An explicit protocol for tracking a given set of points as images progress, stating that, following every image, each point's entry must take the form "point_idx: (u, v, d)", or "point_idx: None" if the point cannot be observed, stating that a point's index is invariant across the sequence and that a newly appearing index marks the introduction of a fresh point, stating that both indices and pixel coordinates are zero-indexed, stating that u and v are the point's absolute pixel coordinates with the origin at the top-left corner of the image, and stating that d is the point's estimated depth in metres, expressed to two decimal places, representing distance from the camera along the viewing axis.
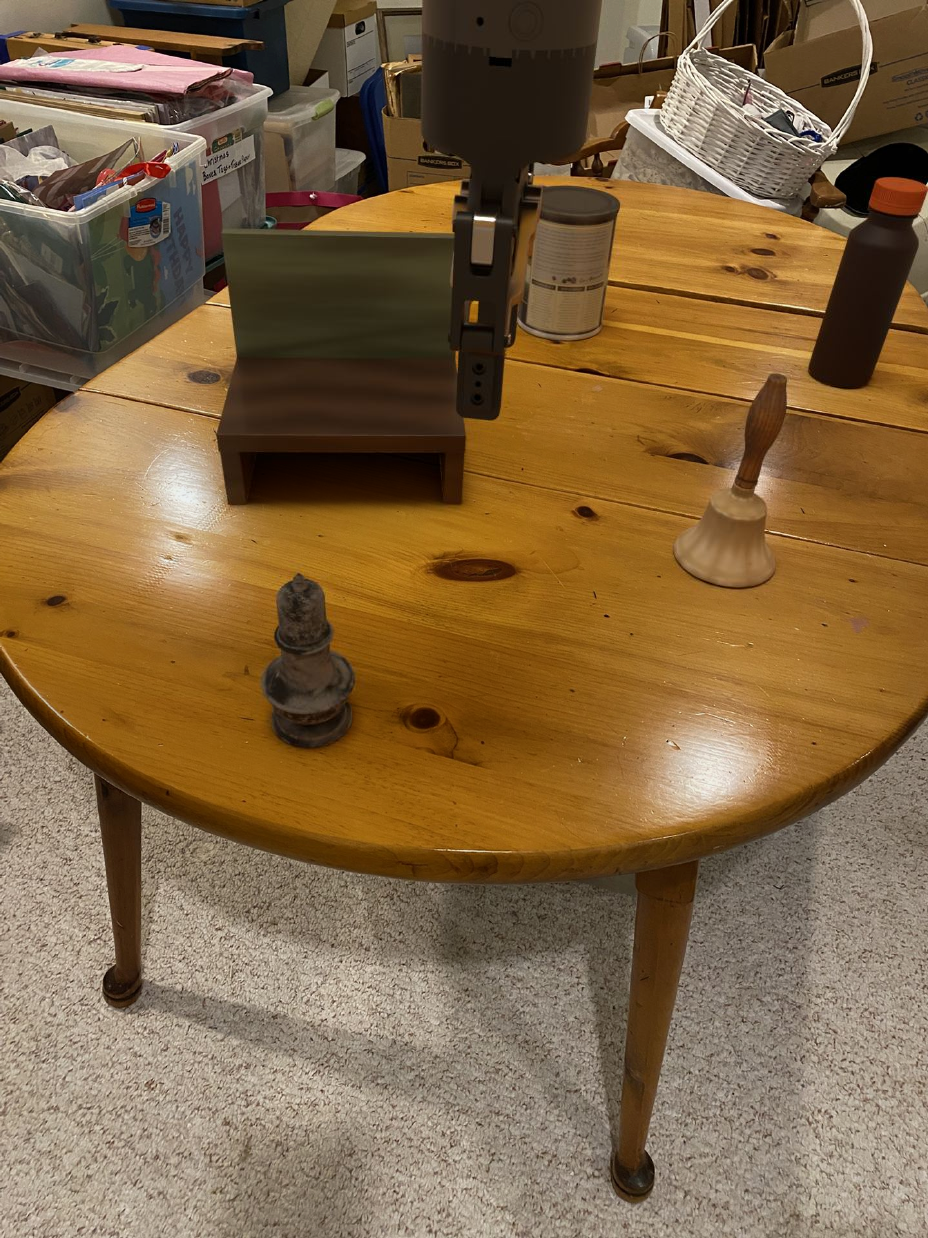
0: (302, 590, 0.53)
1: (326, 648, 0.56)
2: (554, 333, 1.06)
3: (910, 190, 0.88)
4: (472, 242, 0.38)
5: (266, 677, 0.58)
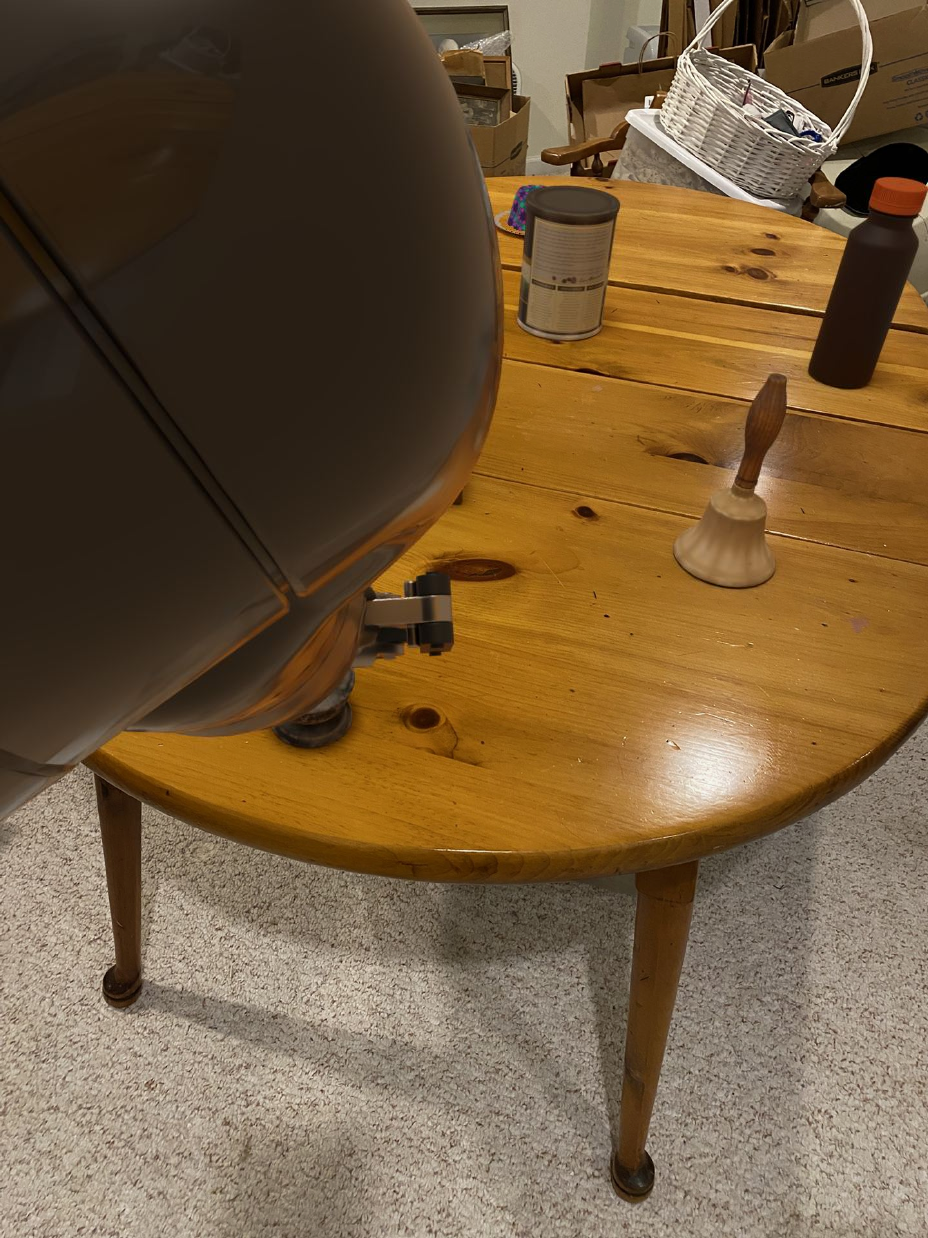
0: None
1: None
2: (554, 333, 1.06)
3: (910, 190, 0.88)
4: None
5: None
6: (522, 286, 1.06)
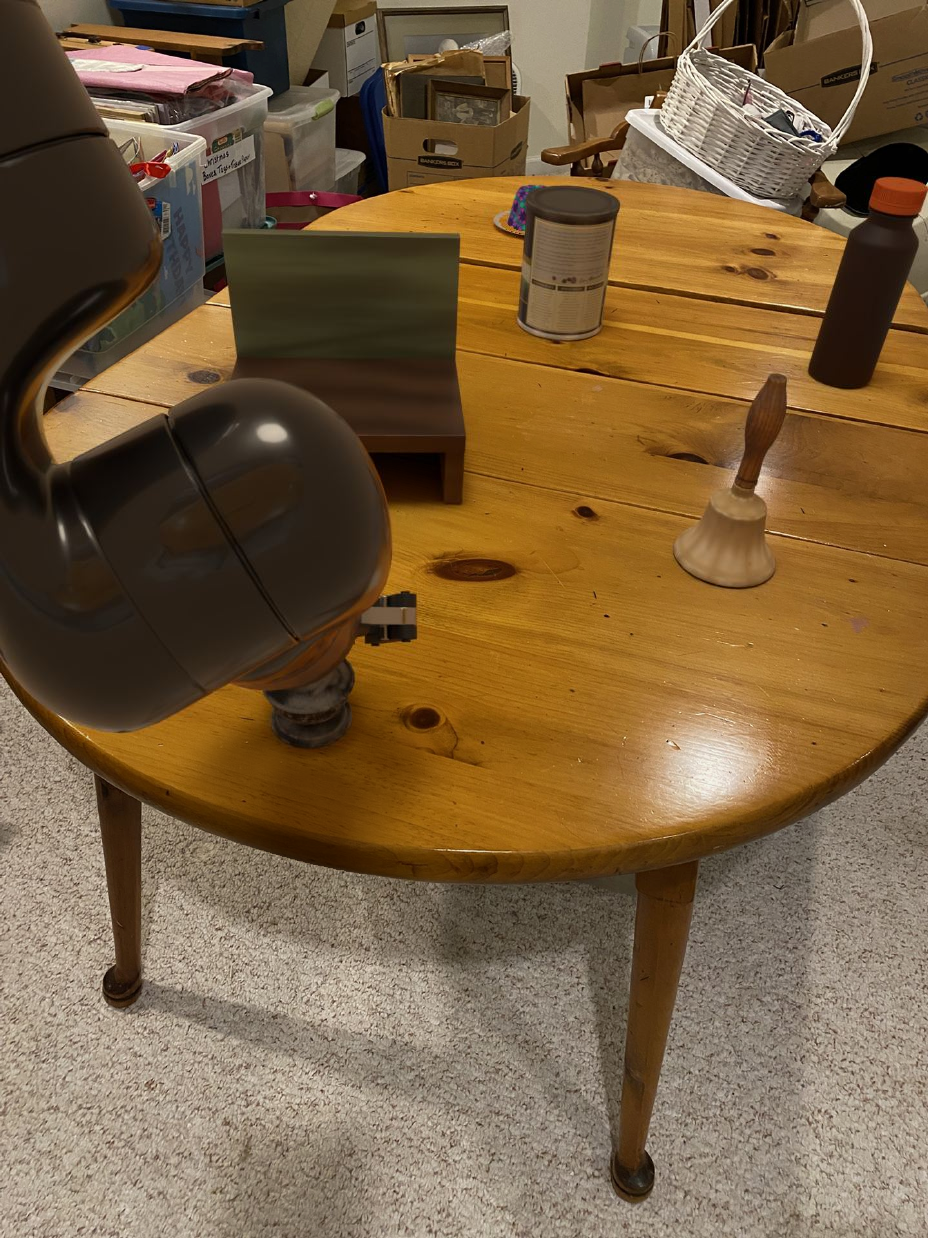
0: None
1: None
2: (554, 333, 1.06)
3: (910, 190, 0.88)
4: None
5: None
6: (522, 286, 1.06)
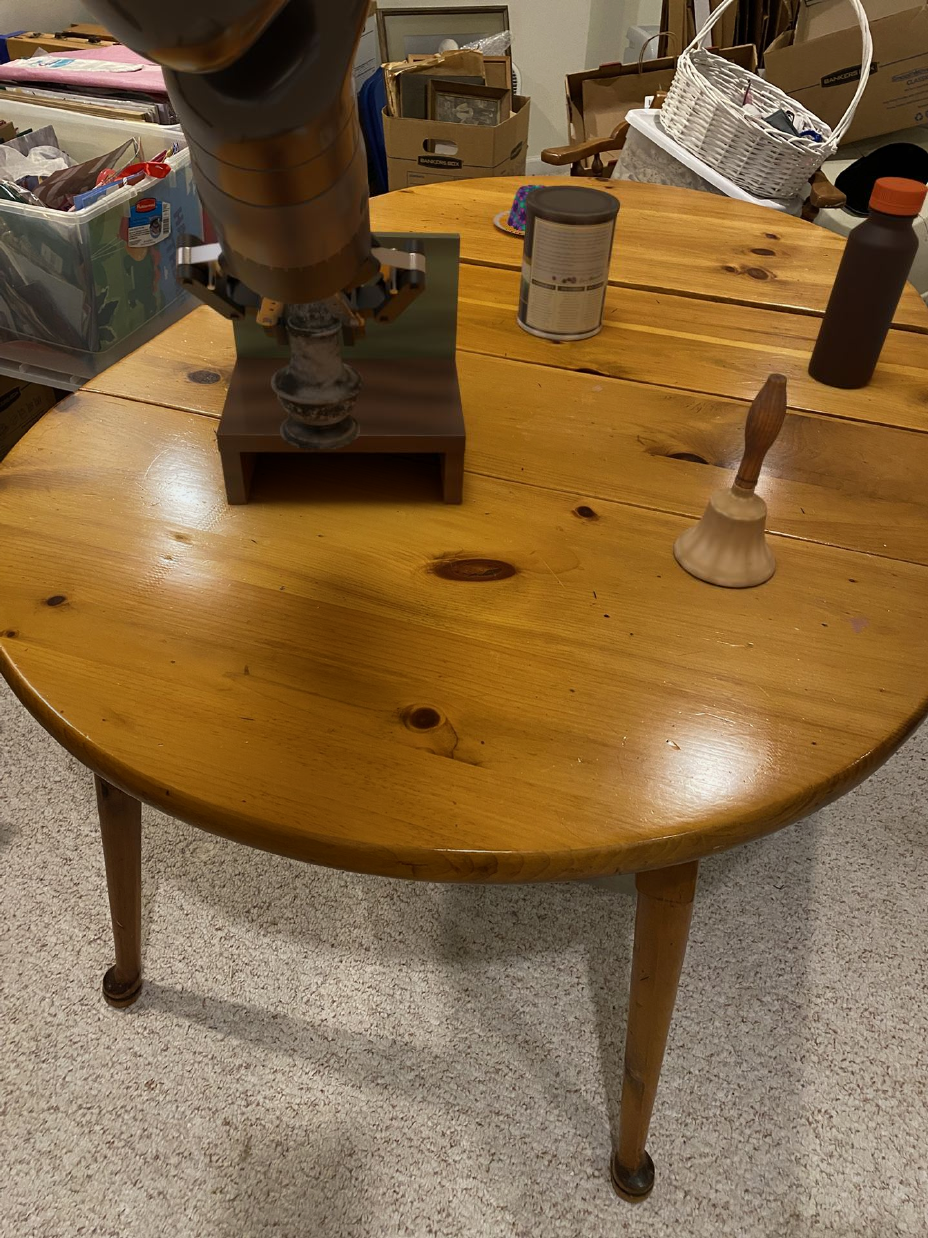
0: None
1: (335, 337, 0.57)
2: (554, 333, 1.06)
3: (910, 190, 0.88)
4: None
5: (276, 377, 0.59)
6: (522, 286, 1.06)
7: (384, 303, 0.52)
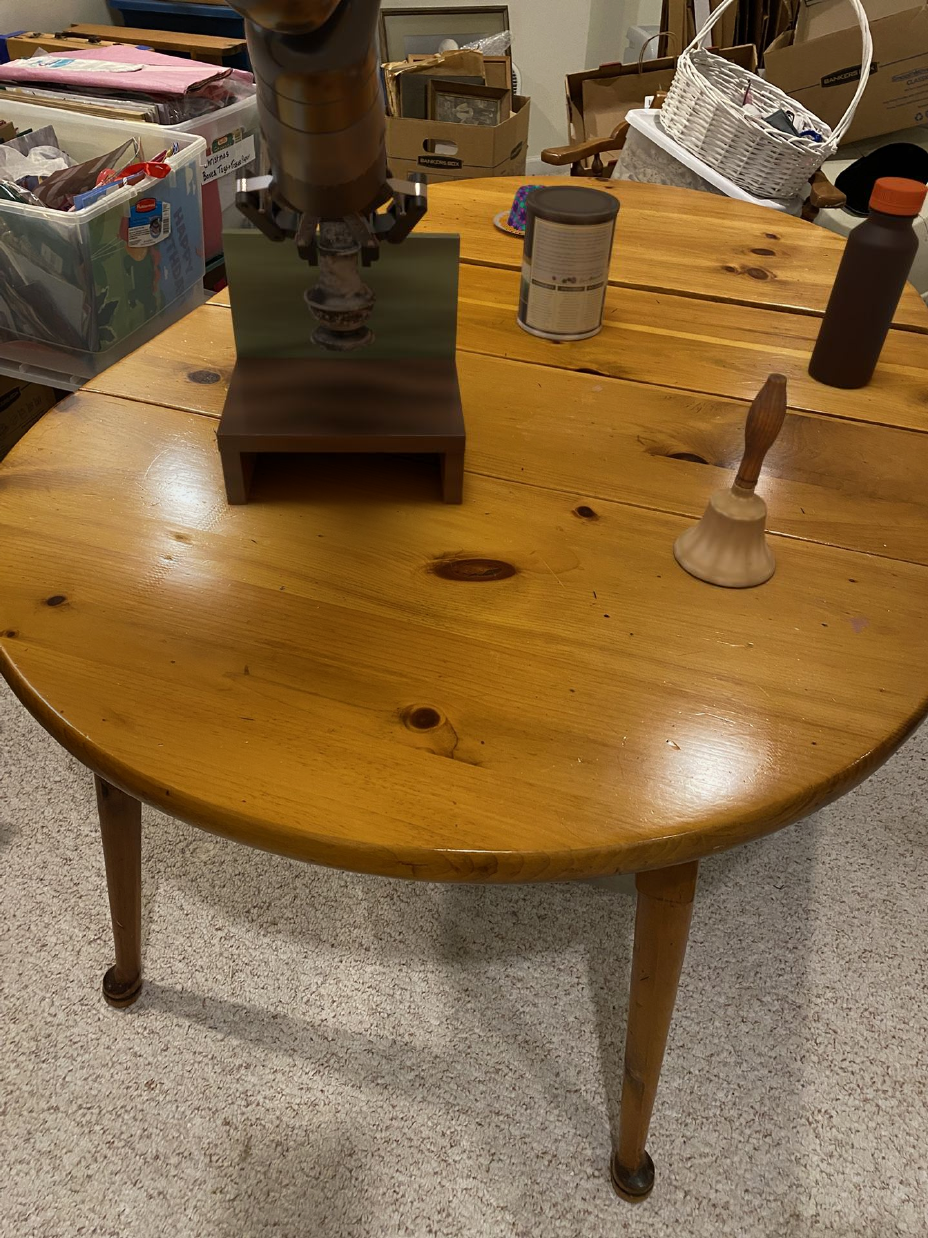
0: None
1: (355, 257, 0.71)
2: (554, 333, 1.06)
3: (910, 190, 0.88)
4: None
5: (307, 292, 0.73)
6: (522, 286, 1.06)
7: (395, 225, 0.67)
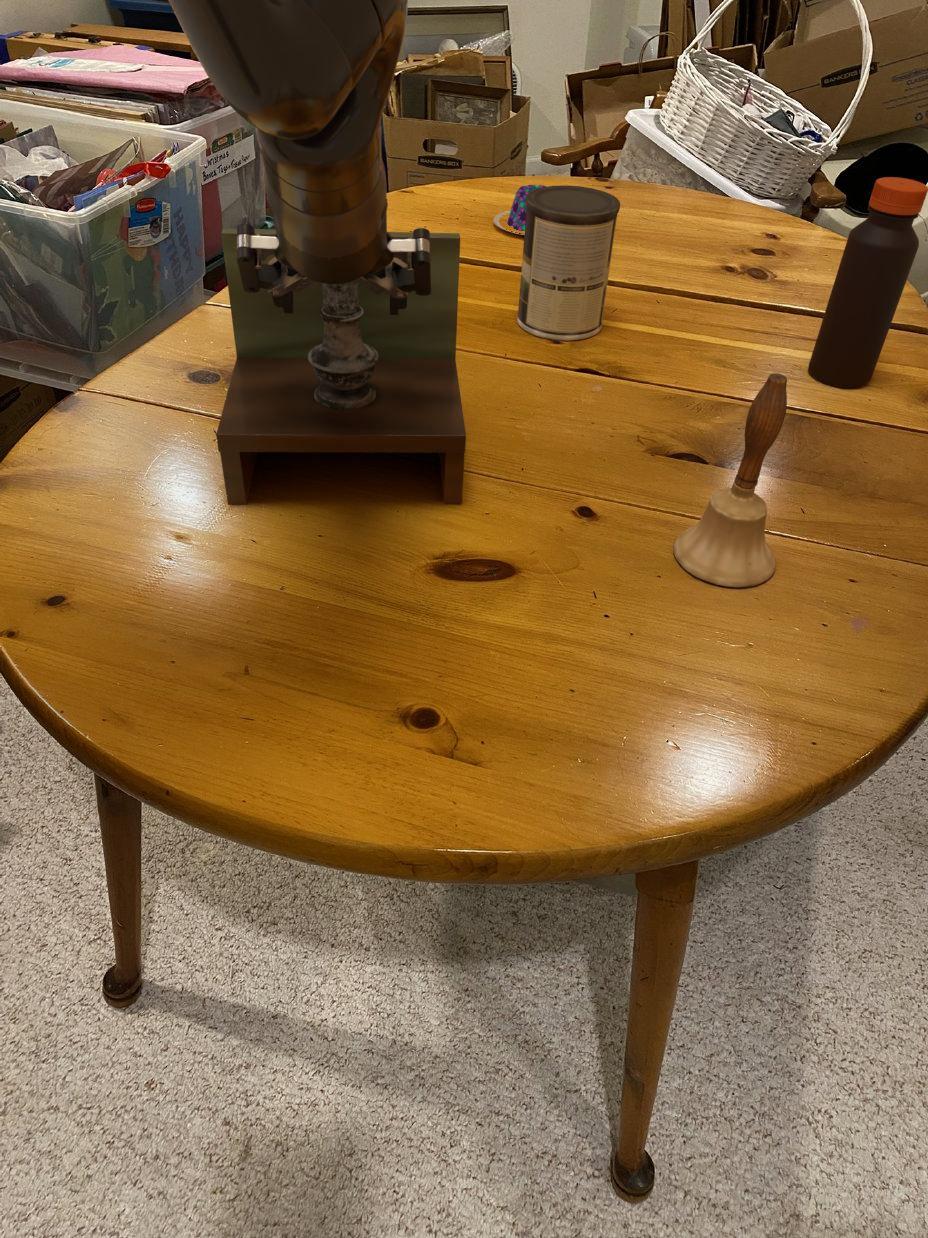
0: None
1: (358, 322, 0.75)
2: (554, 333, 1.06)
3: (910, 190, 0.88)
4: None
5: (312, 353, 0.77)
6: (522, 286, 1.06)
7: (414, 280, 0.69)
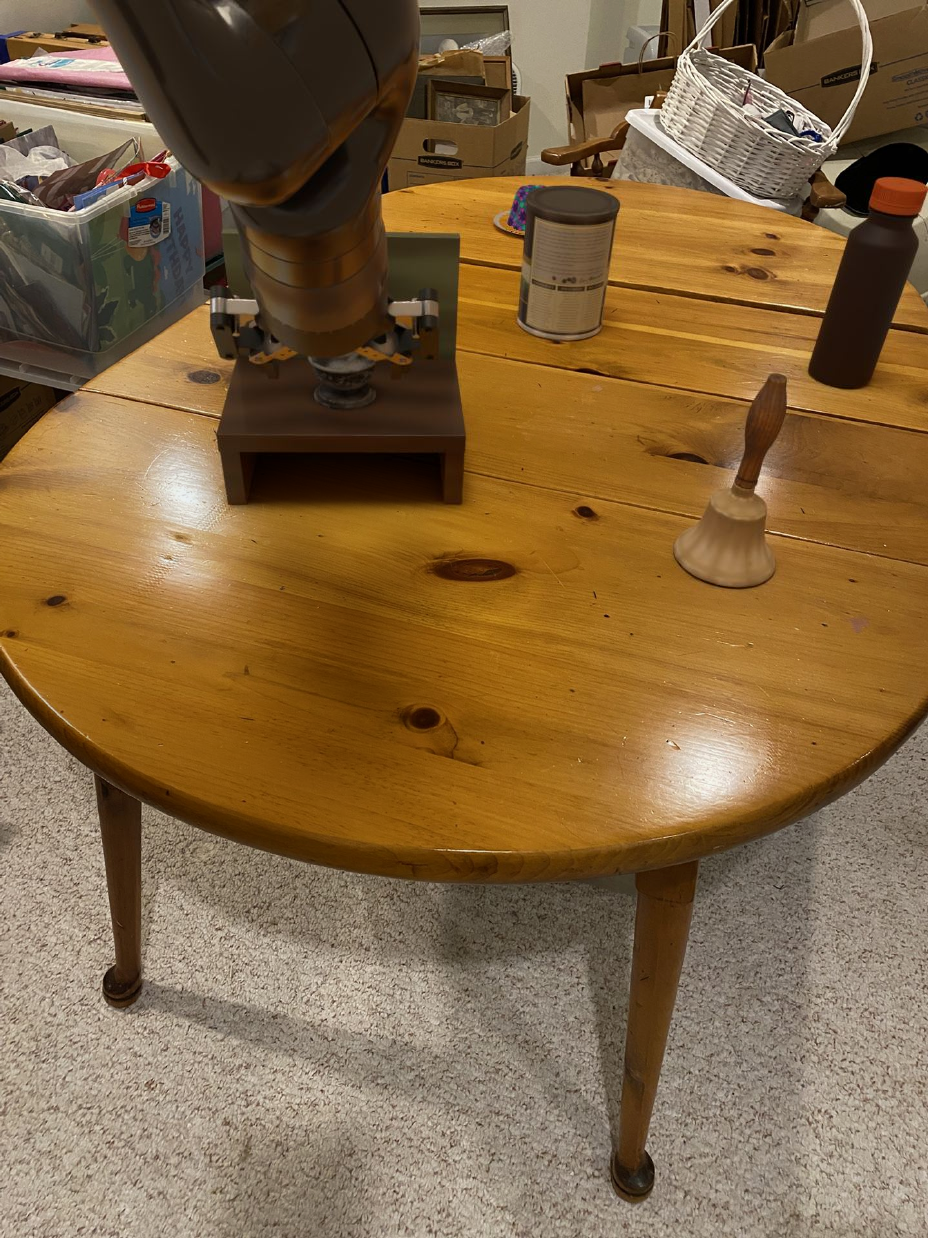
0: None
1: None
2: (554, 333, 1.06)
3: (910, 190, 0.88)
4: None
5: None
6: (522, 286, 1.06)
7: None
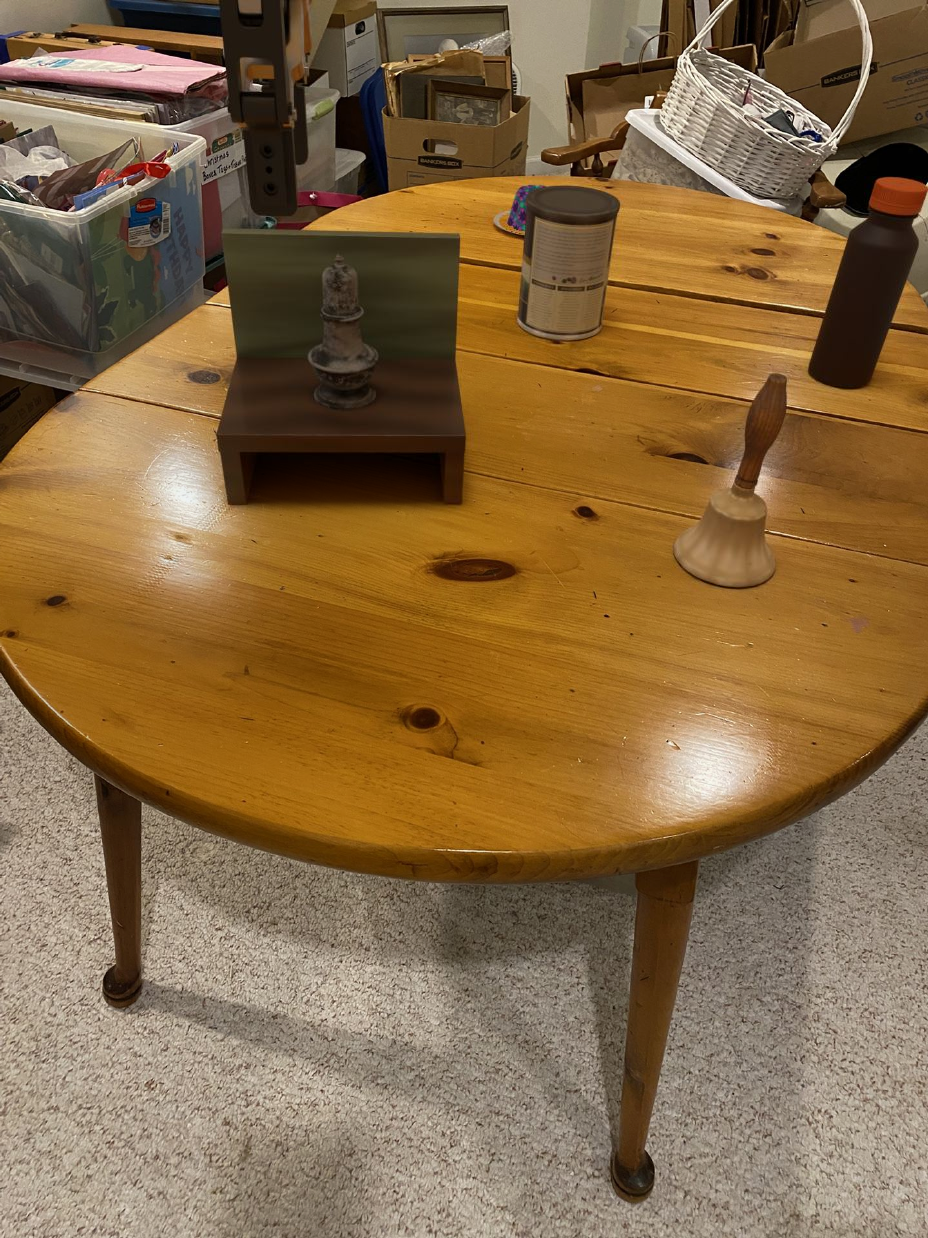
0: (341, 267, 0.72)
1: (358, 322, 0.75)
2: (554, 333, 1.06)
3: (910, 190, 0.88)
4: None
5: (312, 353, 0.77)
6: (522, 286, 1.06)
7: None
